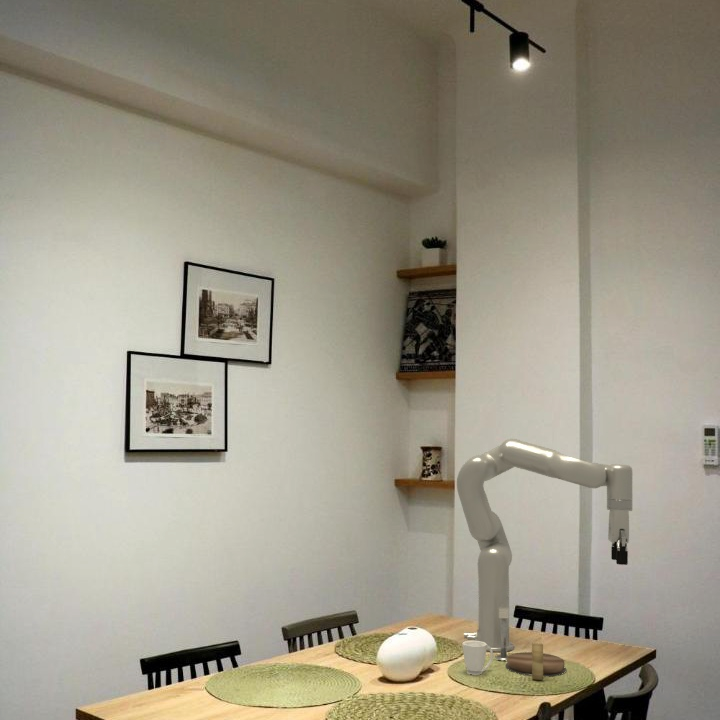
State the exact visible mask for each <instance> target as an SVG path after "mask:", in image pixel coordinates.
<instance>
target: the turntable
mask: <svg viewBox="0 0 720 720" xmlns="http://www.w3.org/2000/svg"><path fill="white" fill-rule="evenodd" d="M507 656H508V657H507V661H506V663H507V665H508V667H509V668H511V669H513V670H516V671H520V672H524V673H531V674H532V676H531V679H533V680H538V681H539V680H544V677H543V674H555V673H560V672H562V671H564V667H565V660H564V659H563V658H561V657H560V656H557V655H553V654H550V653H544V643H541V642H532V644H531V651H528V652H527V651H524V652H523V651H522V652H515V653H511V654H509V655H507Z"/></svg>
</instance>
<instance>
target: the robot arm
mask: <svg viewBox="0 0 720 720" xmlns="http://www.w3.org/2000/svg"><path fill="white" fill-rule="evenodd" d="M513 468H516V469H521V470H525V471H529V472H532V473H535V474H538V475H542V476H544V477H545V476H546V477H547V478H553V479H558V480H561V481H565V482H568V483H572V484H575V485H579V486H582V487H585V488H589V489H599V488H601V487H606V510H607V511H609V514H608V535H607V538H608V539H607V540H608V541H610V543H611V547H610V548H611V549H610V550H611V551H610V552H611V554H610V555H611V560H613V561H615V562H616V564H617V565H618V566H619V565H621V566H628V562H629V561H628V557H629V555H628V553H629V550H628V545H627V544H629V543H630V542H629V541H630V512H632V511H633V468H632V466H630V465H628V464H603V463H598V462H590V461H586V460H582V459H579V458H575V457H571V456H568V455H565V454H564V453H561V452H559V451H557V450H555V449H552V448H548V447H545V446H540V445H537V444H533V443H529V442H526V441H523V440H520V439H517V438H509V439H506V440H504V441H503V442H502V443H501V444H500V445H498V446H497V447H495V448H492V449H491V450H488V451H486V452H485V453H482V454H480V455H479V454H477V455H475V456H472V457H470V458H469V459H468V460H466V462H465V463H464V464H463V465H462V467H460V470H459V471H458V474H457V478H456V489H457V493H458V494H457V495H458V499H459V501H460V503H461V508H462V510H463V511H462V512H463V513H464V517H465V520H466V524H467V526H468V531H469V533H470V535H471V537H472V538H473V539H474V540H476V541H477V543H478V546H479V549H480V553H479V555H478V558H477V575H478V577H477V579H478V626H477V627H478V628H477V631H474V632H467V631H464V632H463V638H464V639H465V640H466V639H467V641H481V642H485V643H486V644H487V645H488V646H490V647H491V648H492V651H493V653H494V652H496V653H497V652H499V653H501V618H499V607H508V608H509V609H510V577H509V575H510V570H509V568H510V565H511V563H512V561H513V554H512V550H511V547H510V545H509V544H510V543H509V541H508V537H507V535H506V533H505V529H504V526H503V523H502V521H501V519H500V517H499V515H498V514H497V513H495V512H494V511H493V510H492V508H491V506H490V503H489V499H488V497H487V494H486V492H485V489H484V487H485V486H484V484H485V482H488V481H490V480H492V479H493V478H496V477H497V476H500V475H501V474H503V473H506V472H508V471H509V470H511V469H513ZM514 649H515V644H514V643H513V642H511V641H510V618H509V619H508V618H507V652H509V651H512V650H514ZM486 652H490V649H489V648H488V647H487V650H486Z"/></svg>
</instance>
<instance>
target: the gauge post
mask: <svg viewBox="0 0 720 720" xmlns="http://www.w3.org/2000/svg"><path fill="white" fill-rule="evenodd" d="M499 618H501V652H500V654H497V655H495V656H494V659H495V658H496V659H498V660H507V657H508V656H509V655H508V653H507V652H508V651H507V618H508V619H509V620H510V607H509V608H508V607H499ZM496 659H495V660H496ZM498 660H497V661H498Z"/></svg>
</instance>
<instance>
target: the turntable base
mask: <svg viewBox="0 0 720 720" xmlns="http://www.w3.org/2000/svg"><path fill="white" fill-rule="evenodd" d="M505 668H506V670H508V669H509V670H508V671H510V670H511V671H510V672H512V671H513V672H512V673H514V672H516V673H515V674H518V673H519V674H518V675H522V674H525V675H524V676H528V675H532V674H531V673H524V672H520V671H516V670H513V669H511V668H509V667H508V665H507V662H505ZM565 671H566V672H567V667H565V668H564V671H562V672H560V673H555V674H543V676H549V677H555V676H554V675H558V676H560V675H559V674H562V673H564V672H565ZM566 672H565V673H566ZM565 673H564V674H565ZM562 675H563V674H562Z"/></svg>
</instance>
